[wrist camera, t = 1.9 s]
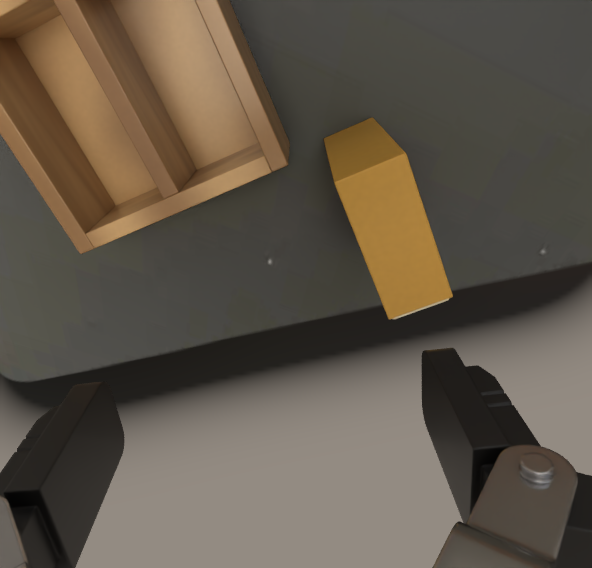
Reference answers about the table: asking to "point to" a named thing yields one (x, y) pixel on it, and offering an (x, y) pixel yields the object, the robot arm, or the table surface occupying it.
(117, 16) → the caddy
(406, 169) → the book
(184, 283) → the table surface
